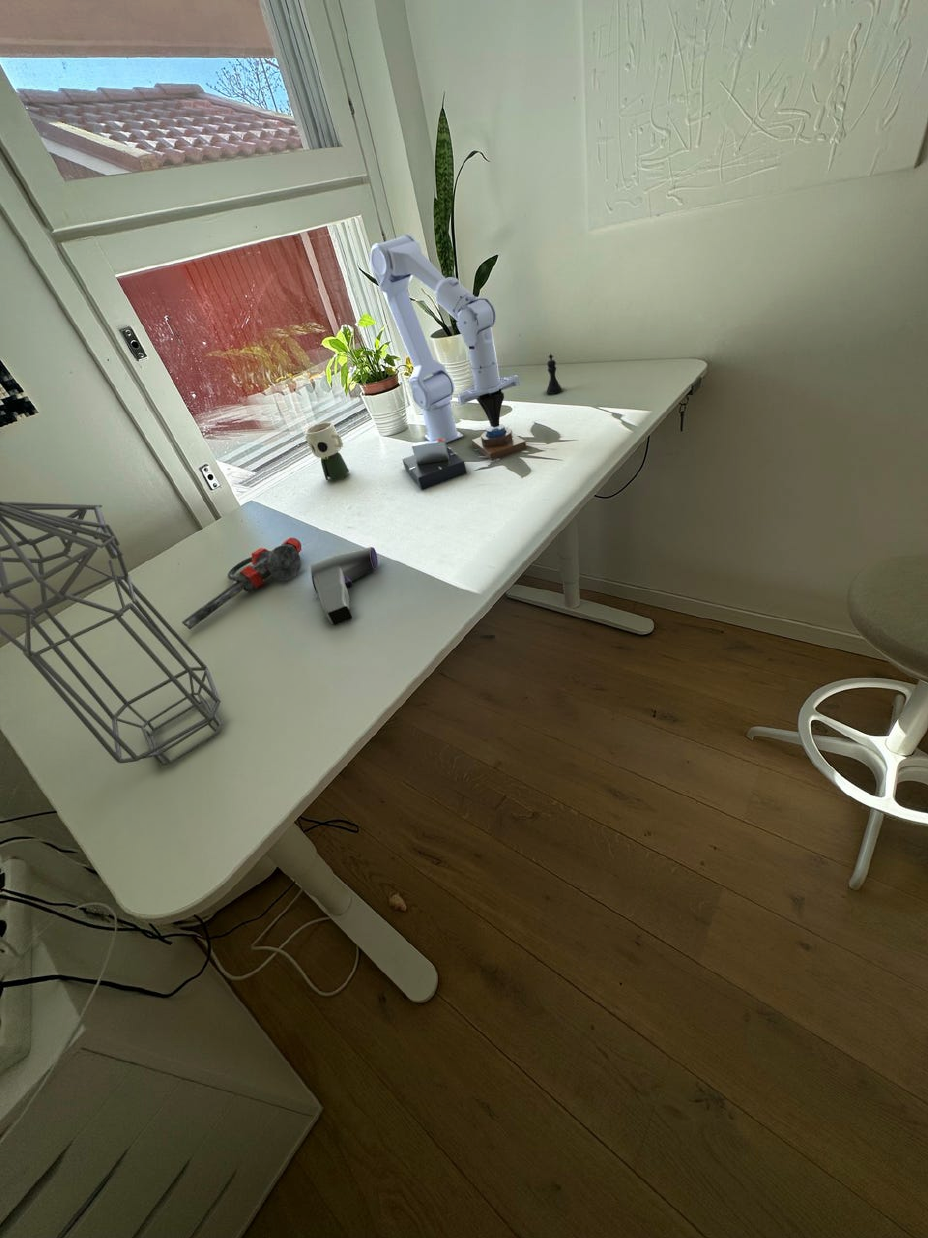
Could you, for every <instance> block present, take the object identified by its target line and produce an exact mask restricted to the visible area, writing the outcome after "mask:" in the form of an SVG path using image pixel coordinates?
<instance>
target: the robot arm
mask: <svg viewBox="0 0 928 1238" xmlns="http://www.w3.org/2000/svg"><path fill="white" fill-rule="evenodd" d="M369 266H370V267H371V270H372V273H373V275H374V277H375V280H376V282H377V284H378V287H379V289H380V291H381V292H382V294H383V296H384V299H385V302H386V304H387V307H388V308H389V311H390V314H391V317H392V318H393V321H394V323H395V326H396V327H397V331H398V333H399V336H400V338H401V340H402V343H403V346H404V348H405V350H406V353H407V354H408V358H409V361H410V363H411V365H412V367H413V370H412V372H411V375H410V376H409V378H408V379H409V380H408V383H409V386H410V389H411V395H412V399H413V401H414V403H415V404H416V405H417V407H419V408H420V410H422V417H423V420H424V423H425V427H426V432H427V434H425V435H424V437H425V439H426V440H427V441H432V440H439V438H444V439H445V442H446V444H447V443H450V442H452V441H455V440H458V439H461V438H463V437H464V434H462V433H461V432H459V431H458V429H457V424H456V421H455V415H454V411H453V407H452V402H451V401H453V395H454V393H455V383H454V380H453V379H452V376H451V375H450V374H449V372H448V371H447V368H446V366H445V364H444V363H441V362H440V361H437V360H435V359H434V357H433V354H432V351H431V348H430V345H429V344H428V341H427V338H426V336H425V334H424V331H423V328H422V326H421V323H420V321H419V318H418V315H417V312H416V310H415V308H414V306H413V303H412V301H411V297H410V295H409V292H408V286H409V283H410V282H411V281H412V279H413V277H414V278H415V279H416V280H417V281H419V282H420V283H422V284H423V285H424V286H425V287H427V288H428V289H429V290H431V291H432V292H433V293H435V301H436V303H437V304H438V305H439V306H440V307H441V308H442V309H443V310H444V311H446V313H448V314H449V315H450V316H451V318H453V319H454V320H455V321H456V323H455V324H456V328H457V329H458V331H459V333H460V334H461V336H462V339H463V342H464V344H465V346H466V347H467V351H468V357H469V362H470V367H471V371H472V378H473V384H474V386H473V387H470V388H469V389H466V390H465V391H462V392H459V393H457V394H456V398H457V402H458V404H459V405H460V406H462V405H465V404H466V403H469V402H471V401H474V400H476V401H477V402H478V404H479V405H480V406H481V409H482V410H483V411H484V413H485V415H486V417H487V419H488V422H489V424H490V425H489V426H492V427H494V428H495V427H497V426H499V424H500V416H501V409H502V405H503V402H504V399H505V393H504V392H502V391H503V390H506V389H509V388H513V387H518V386H520V384H521V383H520V376H519V375H516V374H512V375H510V376H506V377H500V372H499V365H498V359H497V353H496V348H495V342H494V341H495V340H494V335H493V327H494V325H495V323H496V311H495V308H494V305H493V304H492V303H491V301H490V300H489V298H487V297H478V296H475V295H474V294H473V293H472V292H470V291H469V290H468V289H467V288H466V287H464V286H463V284H461V283H460V280H459V279H458V278H457V277H453V276H448V277H445V276H444V275H443V274H442V273H441V272H440V271H439V270H438V268H436V266H435V265H434V264H433V263H432V262H431V261H430V260H429V259H428V258H427V257H426V256H425V255H424V253H423V251H422V245H421V243H420V242H419V241H417V240H416V239H415V238H414V237H413V236H412V235H411V234H409V233H407V234H404V235H402V236H399V237H396V238H393V239H392V238H391V239H389V240H386V241H382V242H375V243H374V244H372V246H371V250H370V257H369Z"/></svg>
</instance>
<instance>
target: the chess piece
mask: <svg viewBox="0 0 928 1238" xmlns="http://www.w3.org/2000/svg"><path fill="white" fill-rule="evenodd" d="M548 358H549V360H548V361H547V363H546V365H547V367H548V368H547V372H548V373H549V375H550V376H549V377H550V378H549V383H548V385H547V388H546V395H556V394H559V393H561V392H562V391H563V388H562V386H561V385H560V383H559V382H558V380H557V377H556V371H557V367H556V363H557V362H556V360H554V359H553V358H554V355H552V354H549V355H548Z"/></svg>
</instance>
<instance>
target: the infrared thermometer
mask: <svg viewBox="0 0 928 1238" xmlns="http://www.w3.org/2000/svg"><path fill="white" fill-rule="evenodd" d="M378 561H379V559H378V555H377V551H376V549H375V547H374V546H368V547H364V548H361V549H357V550H352V551H348V552H343V553H340V554H336V555H333V556H330V557H328V558H325V559H322V560H319V561H317V562H314V563H312V564H311V567H310V574H311V580H312V581H311V582H312V584H313V588H314V591H315V592H316V594H317V595H318V598H319V601H320V606H321V607H322V609H323V611H324V614H325V615H326V618H327V619H328V621H329V623H331V625H333V626H338V625H340V624H342V623H345V622H347V621H350V620H352V619H353V615H352V613H351V611H350V600H351V599H350V594H349V589H351V588H353V586H354V584H353V581H356V580H357V579H359V578H361V577H363V576H365V575H367V574H368V573H370V572H373V571H375V570H377V568H378V563H379V562H378Z"/></svg>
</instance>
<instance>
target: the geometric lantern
mask: <svg viewBox="0 0 928 1238" xmlns="http://www.w3.org/2000/svg"><path fill="white" fill-rule="evenodd" d="M102 507H103V504H85V503H84V504H83V503H57V502H56V503H55V502H54V503H53V502H24V501H23V502H22V501H21V502H20V501H19V502H18V501H0V535H1V537H2V538H3V540H5V542H6V543H7V544H4V545H2V546H0V553H1V552H2V553H3V552H6V551H8V550H12V551H13V552H14V553H15V555H16V556H17V557H6V556H2V555H1V554H0V595H2V594H3V597H4V598H6V599H9V598H10V600H12V601H13V602H15V603H16V604H17V605H18V606H21V607H22V608H3V607H0V615H14V616H16V617H19V618H23V619H25V635H24V636H25V637H24V644H23V643H21V641H19V640H18V639H17V638H15V636H14V635H12V634H11V633H10V632H8V631H7V630H6V629H5V628H3V627H2V626H1V625H0V635H2V636H3V637H5V638H6V639H7V640H8V641H10V643H12V644H13V645H14V646H15V647H17V648H18V649H19V650H20V651H21V652H22V654H23V655H24V656H25V657H26V658H27V660H28V661H29V662H30V663H31V665H33V667H34V668H35V669H36V670H37V671H38V672H39V673H40V675H41V676H42V677H43V678H44V679H45V680H46V682H47V683H48V684H49V686H51V687H52V688H53V690H54V691H55V692H56V694H58V696H59V697H60V698H61V699H62V700H63V702H64V703H65V704H66V705H67V706H68V707H69V708H70V710H71V711H72V712H73V713H74V714H75V715H76V717H77V718H78V719H79V720H80V721H81V723H83V725H84V726H85V727H86V728H87V729H88V731H89V732H90V733H91V734H92V736H94V737H95V739H96V740H97V741H98V742H99V743H100V744H101V746H102V747H103V748H104V749H105V751H107V753H108V754H109V755H110V756H111V757H112V758H113V760H114V761H115V762H116V763H118V764H127V763H134V762H139V761H141V760H143V759H149V758H154V759H155V760H156V761H157V762H158V763H159V765H160V766H161V767H164V766H169V765H172V764H174V763H175V762H176V761H178V760H180V759H181V758H183V757H185V756H186V755H188V754H190V753H191V752H192V751H194V750H195V749H197V748H199V747H200V746H202V745H203V744H205V743H207V742H208V741H209V740H211V739H212V738H214V737H216V736H217V735H219V734H220V732H221V730H222V727H223V725H222V723H221V722H220V719H219V718H218V716H217V714H216V713H217V710H218V708H219V706H220V704H221V699H220V697H219V694H218V691H217V688H216V686H215V683H214V681H213V678H212V676H211V673H210V671H209V668H208V666H207V665H206V664H205V663H204V662H203V660H201V658H200V657H199V656H198V655H197V653H195V652H194V650H193V649H192V648H191V647H190V646H189V645H188V644H187V642H186V641H184V639H183V638H182V637H181V636H180V634H179V633H177V631H176V630H175V629H174V628H173V627H172V626H171V624H169V622H168V621H167V620H166V619H165V617H163V615H162V614H161V613H160V612H159V611H158V610H157V609H156V608H155V606H153V604H151V602H150V601H149V600H148V599H147V597H146V596H145V595H144V594H143V593H142V592H141V591H140V590H139V589H138V587H137V586H136V585H135V584H134V583H133V582H132V579H131V575H130V574H129V572H128V569H127V566H126V564H125V561H124V558H123V554H124V553H123V552H122V551H121V550H120V545H121V543H120V541H119V539H118V538H117V536H116V534H115V532H114V531H113V529H112V528H111V526H110V524H108V523H106V521H105V517H104V515H103V512H102V509H101V508H102ZM63 510H64V511H69V510H70V511H73V512H71V513H69V515H67V516H63V515H57V514H51V513H45V512H41V511H63ZM88 510H89V511H90V510H91V511H92V510H93V511H94V514H95V517H96V518H95V519H96V521H90V520H85V517H86V514H87V512H88ZM39 511H40V512H39ZM8 519H9V520H12V521H14V522H17V523H20V524H22V525H25V526H28V527H31V528H33V529H36V530H39V531H41V532H43V533H46V534H44V535H40V536H39V537H35V538H27V536H25V534H23V533H22V532H21V531H20V530H19V529H18V528H17V527H15V526H14V525H13V524H12V523H11V522H10V521H9V520H8ZM85 526H86V527H85ZM5 527H6V528H5ZM89 527H90V528H89ZM91 527H92V528H96V529H92V528H91ZM6 529H8V530H9V531H10V532H11V533H12V534H14V535H15V537H17V538H18V539H20V540H18V541H15V539H13V537H12V536H11V534H10V533H9V532H8V531H7V530H6ZM78 534H81V535H85V536H89V537H93V539H94V540H100V541H101V542H102V543H98V542H95V541H92V540H90V539H87V538H85V537H82V536H81V535H78ZM54 537H58V538H59V539H60V541H61V543H62V545H63V547H64V549H63V550H62V551H60V552H56V553H53V554H50V555H46V556H44V555H43V554H42V552H41V550H40V549H39V547H38V545H37V544H39V543H42V542H44V541H47V540H50V539H52V538H54ZM73 544H77V545H79V546H82V547H85V549H84V550H82V551H80V552H78V553H77V554H75V555H73V556H71V555H69V553H70V552H71V551H72V550H71V548H72V546H73ZM26 545H28V546H29V547H30V546H32V548H33V550H34V552H35V553H36V555H37V557H38V558H30V557H27V556H26V554H25V553H24V551H23V550H22V549H21V547H22V546H26ZM98 548H100V549H103V548H105V551H106V552H107V554H108V555H109V557H110V559H112V560H113V559H114V560H117V561H118V563H119V566H120V569H121V572H122V574H119V573H116V571H115V569H114V565H113V564H114V563H113V562H112V560H108V562H107V563H108V565H109V568H110V571H111V574H109V573H107V572H104V571H103V570H100V569H98V568H96V567H94V566H92V565H89V564H88V563H89V561H91V559H92V557H93V556H94V555H95V553H96V552H97V550H98ZM63 557H65V558H66V560H65V561H63V562H61V563H60V564H57V565H56V566H54V567H53V568H51V569H49V570H48V571H45V568H44V563H46V562H50V561H53V560H56V559H60V558H63ZM4 563H21V564H23V565H24V567H25V568H26V569H27V570H28V571H29V573H30V574H31V575H32V576H27V577H24V578H22V579H19V580H16V581H13V582H11V583H9V582H8V581H9V580H8V577H7V573H6V569H5V565H4ZM75 563H77V566H76V567H75V568H74V569H73V571H72V573H71V574H70V575H69V577H68V578H67V580H66V581H65V582H64V584H63V585H62V586H61V588H60V589H59V590H58V591H57V589H55V588H54V587H53V586H52V585H50V584H49V583H48V582H47V580H48V579H49V578H51V577H53V576H54V575H56V574H58V573H60V572H61V571H63V570H65V569H67V568H68V567H71V565H73V564H75ZM34 564H37V568H36V567H35V566H34ZM85 567H86V568H87V569H90V570H91V571H95V572H96V573H98V574H100V575H103V576H105V577H106V578H103V579H101V580H98V581H97V582H94V583H92V584H90V585H88V586H86V587H83V588H82V589H79V590H77V591H74V592H72V593H71V594H69V593H67V592H68V591H69V589H70V588H71V586H72V585H73V584H74V582H75V581H76V579H77V578H78V576H79V575H80V574H81V573H82V571H83V570H84V568H85ZM34 580H35V581H36V582H37V583H39V589H40V597H41V603H40V604H38V605H36V606H34V607H33V608H31V607H30V606H28V605H27V604H26V603H25V602H24V601H22V600H21V599H19V598H18V597H17V596H16V595H15V594H13V593H12V592H11V590H14V589H17V588H19V587H22V586H25V585H27V584H31V583H32V582H34ZM110 580H113V582H114V586H115V588H116V592H117V594H118V598H119V602H120V605H121V608H119V609H118V610H117V609H113V608H111V607H108V606H105V605H101V604H99V603H96V602H92V601H90V600H87V599H84V598H82V597H78V595H81V594H83V593H86V592H88V591H89V590H91V589H93V588H95V587H98V586H100V585H103V584H104V583H106V582H109V581H110ZM125 583H126V584H125ZM121 589H122V591H124V593H125V594H126V595H127V597H128V598H129V599H130V600H131V602H130V603H129V602H128V603H126V604H125V602H124V597H123V594H122V591H121ZM47 590H48V591H49V592H51V593H52V594H53V596H51V597H50V598H47ZM136 596H137V597H138V598H139V600H141V601H142V603H144V605H145V606H146V607H147V608H148V609H149V611H150V612H152V613H153V615H154V616H155V617H156V618H157V619H158V620H159V622H160V623H162V625H163V626H164V627H165V628H166V629H167V630H168V632H170V633H171V635H172V636H173V637H174V638H175V639H176V640H177V641H178V642H179V643H180V645H181V646H182V647H183V648H184V649H185V650H186V651H187V652H188V653H189V655H190V656H191V657H192V658H193V659H194V660H195V662H196V663H197V664H198V665H199V666H189V664H188V662H187V661H186V660H185V659H184V658H183V656H182V655H181V654H180V652H179V651H178V650H177V648H176V647H175V646H174V645H173V644H172V643H171V641H170V640H169V638H168V637H167V636H166V635H165V633H164V632H163V631H162V630H161V628H160V627H159V626H158V624H157V623H156V622H155V620H153V618H152V617H151V616H150V614H149V612H147V611H146V609H145V607H143V605H142V604H141V603H140V602H139V600H138V599H137V598H136ZM67 600H69V601H72V602H76V603H79V604H81V605H85V606H88V607H91V608H94V609H97V610H99V611H103V612H106V613H109V614H111V615H112V616H110V617H107V618H105V619H103V620H101V621H99V622H97V623H95V624H92V625H90V626H88V627H86V628H83V629H82V630H80V631H78V632H75V633H73V634H72V635H71V633H69V631H68V630H67V629H66V628H65V627H64V626H63V624H62V623H61V622H60V621H59V620H58V618H56V616H55V615H54V614H53V613H52V612H51V611H50V610H49V609H50V608H52V607H54V606H57V605H59V604H61V603H63V602H65V601H67ZM129 610H130V611H131V612H132V613H133V614H134V615H135V616H136V617H137V618H138V620H139V621H140V622H141V623H142V624H143V625H144V626H145V628H147V629H148V631H149V632H150V633H151V634H152V635H153V636H154V637H155V638H156V639H157V641H159V643H160V644H161V645H162V646H163V647H164V648H165V649H166V650H167V652H168V653H169V654H170V655H171V656H172V657H173V658H174V660H176V661H177V663H178V664H179V665H180V666H181V667H182V668H183V669H184V670H182V671H180V672H178V673H177V674H175V675H174V674H173V673H172V672H171V671H170V670H169V668H167V666H166V665H165V664H164V663H163V662H162V661H161V660H160V659H159V657H158V656H157V655H156V654H155V652H153V651H152V650H151V648H150V647H149V646H148V644H146V642H145V641H144V640H143V639H142V638H141V637H140V636H139V635H138V633H137V631H135V630H134V629H133V628H132V627H131V626H130V625H129V623H127V621H126V620H125V619H124V618H123V616H124V614H125V613H126V612H127V611H129ZM43 614H45V615H46V616H47V618H48V619H49V620H50V621H51V622H52V623H53V624H54V626H55V627H56V628H57V629H58V630H59V631H60V633H61V634H62V635H63V637H65V638H63V639H61V640H59V641H55V642H54V640H53V639H52V638H51V637H50V636H49V634H47V632H46V631H45V630H44V629H43V628H42V626H41V625H40V624H39V622H38V621H36V619H38V617H40V616H41V615H43ZM114 620H117V621H118V622H119V623H120V625H121V626H122V627H123V628H124V629H125V631H127V633H128V634H129V635H130V636H131V637H132V639H133V640H135V642H136V643H137V644H138V645H139V647H140V648H142V650H143V651H144V652H145V653H146V654H147V655H148V656H149V658H150V659H151V660H152V661H153V662H154V663H155V664H156V665H157V666H158V667H159V669H160V670H161V671H162V672H163V673H164V674H165V675H166V676H167V678H168V679H166V680H164V681H162V682H160V683H158V684H157V685H155V686H152V687H151V688H149V689H147V690H146V691H144V692H141V693H140V694H138V695H136V696H135V697H134V698H131V699H130V700H127V699H126V698H125V696H124V695H123V694H122V693H121V692H120V691H119V690H118V689H117V687H116V686H115V685H114V684H113V682H112V681H111V680H110V679H109V678H108V677H107V676H106V675H105V673H104V672H103V671H102V670H101V669H100V667H99V666H98V665H97V664H96V663H95V661H94V660H93V659H92V658H91V657H90V655H89V654H87V652H86V651H85V650H84V649H83V648H82V646H81V645H80V644H79V643H78V642H77V640H76V639H75V638H78V637H80V636H82V635H85V634H86V633H89V632H90V631H92V630H95V629H97V628H99V627H102V626H104V625H105V624H107V623H109V622H111V621H114ZM31 626H32V627H33V628H34V629H35V630H36V631H37V632H38V634H39V635H40V636H41V637H42V639H43V640H44V641H45V642H46V643H47V644H48V646H46V647H44V648H41V649H39V650H37V651H34V650H32V643H31V639H32V638H31ZM67 642H69V643H70V644H71V645H72V646H73V648H74V649H75V650H76V651H77V652H78V653H79V655H80V656H81V657H82V658H83V659H84V660H85V661H86V662H87V663H88V665H89V666H90V667H91V668H92V669H93V670H94V672H96V674H97V675H98V676H99V677H100V678H101V680H102V681H103V682H104V683H105V684H106V685H107V687H108V688H109V689H110V690H111V691H112V692H113V693H114V695H115V696H116V697H117V698H118V699H119V700H120V701H121V703H122V705H121V707H119V708H118V710H117V711H116V712H115V713H113V712H112V710H111V709H110V708H109V707H108V705H107V704H106V703H105V702H104V701H103V699H102V698H101V697H100V695H99V694H98V693H97V692H96V691H95V690H94V688H92V686H91V685H90V683H88V681H87V680H86V679H85V678H84V677H83V676H82V674H81V673H80V672H79V670H77V668H76V667H75V666H74V665H73V663H72V662H71V661H70V659H68V658H67V656H66V655H65V654H64V652H63V651H62V650H61V649H60V648H59V646H61V645H63V644H65V643H67ZM50 650H53V651H54V653H55V654H56V655H57V656H58V657H59V658H60V660H61V661H62V662H63V663H64V664H65V666H66V667H67V668H68V669H69V670H70V672H71V673H72V674H73V675H74V676H75V678H76V679H77V680H78V681H79V682H80V683H81V685H82V686H83V687H84V688H85V689H86V691H87V692H88V693H89V694H90V695H91V697H92V698H93V699H94V700H95V701H96V703H97V704H98V705H99V706H100V708H101V709H102V710H103V711H104V712H105V713H106V715H107V716H108V717H109V719H110V720H111V723H112V728H111V726H109V725H108V723H106V722H105V721H104V719H102V718H101V716H100V715H98V714H97V712H96V711H95V710H94V709H93V708H92V707H91V706H90V705H89V704H88V703H87V702H86V701H85V700H84V699H83V698H82V697H81V696H80V695H79V694H78V693H77V692H76V690H74V689H73V688H72V687H71V685H70V684H69V683H68V682H67V681H66V680H65V679H64V678H63V677H62V676H61V675H60V674H59V673H58V672H57V671H56V670H55V669H54V668H53V667H52V666H51V665H50V664H49V662H47V661H46V659H44V658H43V656H42V654H44V653H46V652H48V651H50ZM199 671H200V672H201V671H202V672H203V674H202V678H200V677H199V676H198V675H197V674H196V672H199ZM186 674H188V678H189V686H190V692H191V693H189V692H188V690H187V689H186V688H185V687H184V686H183V684H181V682H180V681H179V680H178V679H179V678H180V677H183V676H184V675H186ZM206 679H207V682H208V685H209V687H210V688H209V687H208V685H206V684H205V680H206ZM194 681H195V682H196V683H197V684H198V685H199V687H198V690H197V692H195V689H194ZM170 683H173V684H174V685H175V686H176V688H177V689H178V690H179V691H180V692H181V693H182V694H183V695H184V697H183V698H181V699H179V700H177V701H176V702H175V703H173V704H171V705H170V706H168V707H167V708H166V709H164V710H162V711H160V712H159V713H157V714H156V715H154V716H152V717H151V718H150V719H146V718H145V717H143V715H142V714H141V713H139V712H138V710H136V709H135V708H134V707H133V706H132V705H133V704H134V703H136V702H137V701H139V700H142V699H143V698H145V697H146V696H148V695H150V694H152V693H154V692H155V691H157V690H160V689H161V688H163V687H164V686H167V685H168V684H170ZM60 686H61V687H62V688H63V689H64V690H65V691H66V692H67V693H66V692H65V691H64V690H63V689H62V688H61V687H60ZM202 690H203V691H204V692H205V693H206V694H207V695H208V697H210V698H211V700H213V701H214V705H213V706H211V704H210V702H209V701H208V700H206V699H205V698H204V696H203V695H202ZM67 694H69V695H70V696H71V697H72V698H73V699H74V701H76V702H77V703H78V704H79V705H80V707H81V708H82V709H83V710H84V711H85V712H86V713H87V714H88V715H89V716H90V717H91V718H92V719H93V720H94V721H95V722H96V723H97V724H98V725H99V726H100V727H101V728H102V730H104V731H105V732H106V733H107V734H108V736H110V737H111V738H112V739H113V740H114V748H115V749H113V748H112V746H111V745H110V744H109V743H108V742H107V740H106V739H105V738H104V736H103V735H101V733H100V732H99V731H98V730H97V729H96V728H95V726H94V725H93V724H92V723H91V722H90V721H89V719H88V717H86V716H85V715H84V714H83V712H82V711H81V710H80V708H79V707H78V706H77V705H76V704H75V703H74V702H73V700H72V699H71V697H69V696H68V695H67ZM196 696H197V697H198V699H199V700H200V701H199V700H198V699H197V697H196ZM186 700H188V701H189V702H190V703H191V704H192V705H190V706H189V707H187V708H185V709H183V710H182V711H180V712H179V713H177V714H175V715H173V716H172V717H171V718H168V719H167V720H165V721H164V722H162V723H161V724H158V725H157V726H156V727H154V726H153V725H152V723H151V722H153V721H155V720H156V719H157V718H159V717H161V716H162V715H164V714H165V713H167V712H168V711H170V710H172V709H174V708H175V707H176V706H178V705H180V704H181V703H183V702H185V701H186ZM201 705H203V707H204V708H203V707H202V706H201ZM127 708H128V709H129V710H130V711H131V712H132V713H133V714H134V715H136V716H137V718H139V719H140V720H141V721H142V722H143V723H144V724H143V725H142V724H139V723H135V722H133V721H129V720H125V719H122V718H119V716H121V714H122V713H123V712H124V711H125V710H126V709H127ZM193 708H195V709H196V710H197V711H198V712H199V714H201V715H202V717H203V719H201V720H199V721H198V722H196V723H194V724H192V725H191V726H189V727H186V728H185V729H184V730H182V731H180V732H178V733H176V734H174V735H173V736H171V737H170V738H167V739H166V740H164V741H162V742H160V743H158V744H156V742H155V739H154V737H153V736H154V735H155V733H156V731H158V729H159V730H160V729H161V728H162V727H164V726H165V725H168V724H169V723H171V722H172V721H174V720H176V719H178V718H179V717H180V716H182V715H184V714H185V713H187V712H188V711H190V710H192V709H193ZM212 721H213V722H214V723H215V725H216V726H217V728H216V727H215V726H214V725H213V723H212ZM118 722H120V723H123V724H126V725H130V726H132V727H136V728H139V729H141V732H142V733H143V736H144V739H145V741H146V743H147V746H148V748H149V749H147V750H146V751H144V752H142V753H140V754H139V755H137V754H136V753H135V751H133V749H132V748H131V747H129V746H128V744H127V743H126V742H125V741H124V740H123V739H122V738H121V737H120V734H119V725H118ZM147 726H148V727H149V729H150V730H151V733H150V732H149V731H148V730H147V729H146V727H147ZM207 726H208V727H209V728H210V729H211V730H212V731H213V733H212V734H210V735H209V736H207V737H206V738H204V739H203V740H201V741H200V742H198V743H196V744H195V745H193V746H191V747H190V748H189V749H187V750H186V751H184V752H182V753H181V754H179V755H178V756H176V757H175V758H173V759H170V758H169V757H168V756H167V755H166V754H165V753H166V752H167V751H169V750H170V749H172V748H173V747H176V746H177V745H178V744H180V743H181V742H183V741H184V740H186V739H188V738H190V737H191V736H193V735H195V734H196V733H197V732H199V731H201V730H203V728H206V727H207ZM165 746H166V747H165ZM164 747H165V748H164ZM162 748H163V749H162ZM121 749H123V750H124V751H125V752H126V753H127V754H128V756H130V757H126V758H122V757H123V756H122V750H121ZM160 749H161V750H160ZM159 750H160V751H159ZM163 759H164V760H163ZM164 761H165V762H164Z"/></svg>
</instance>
